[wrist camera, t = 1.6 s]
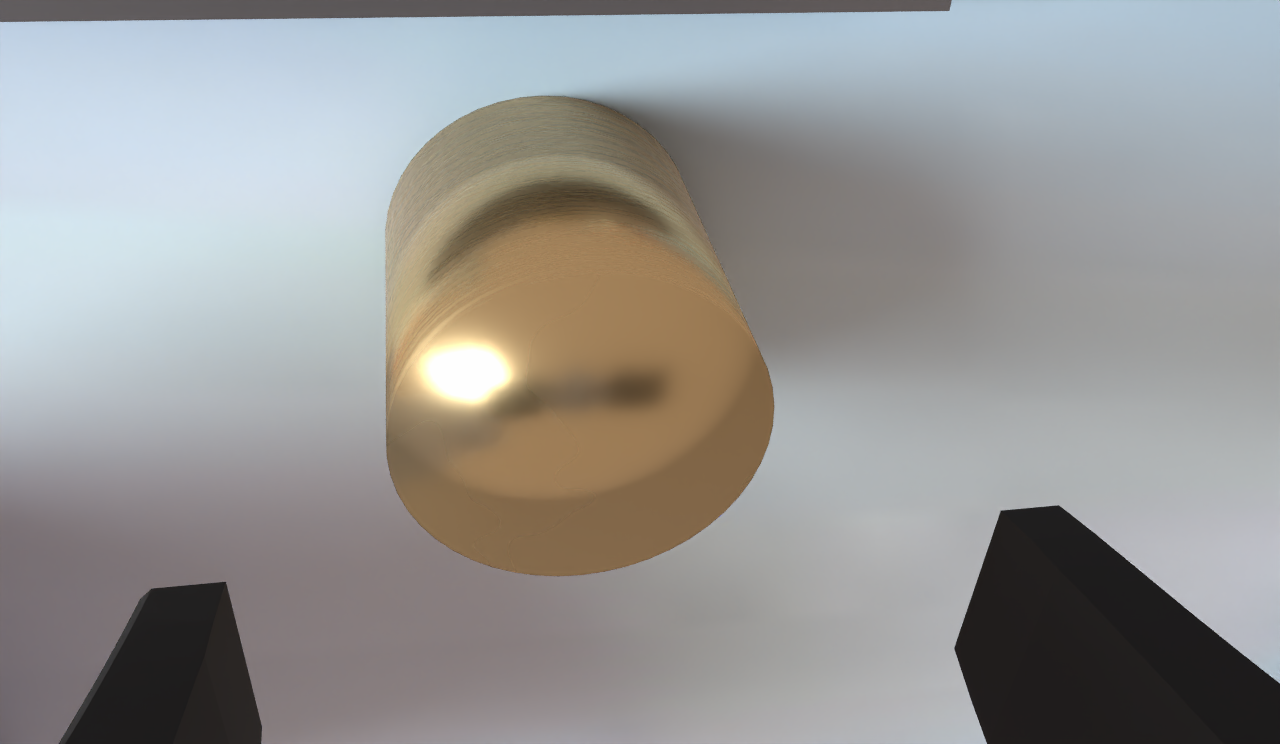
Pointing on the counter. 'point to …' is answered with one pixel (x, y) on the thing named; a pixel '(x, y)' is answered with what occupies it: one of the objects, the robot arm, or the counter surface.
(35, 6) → the scale
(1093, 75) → the counter surface
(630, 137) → the cylinder
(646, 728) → the counter surface
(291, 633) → the counter surface
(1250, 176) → the counter surface
